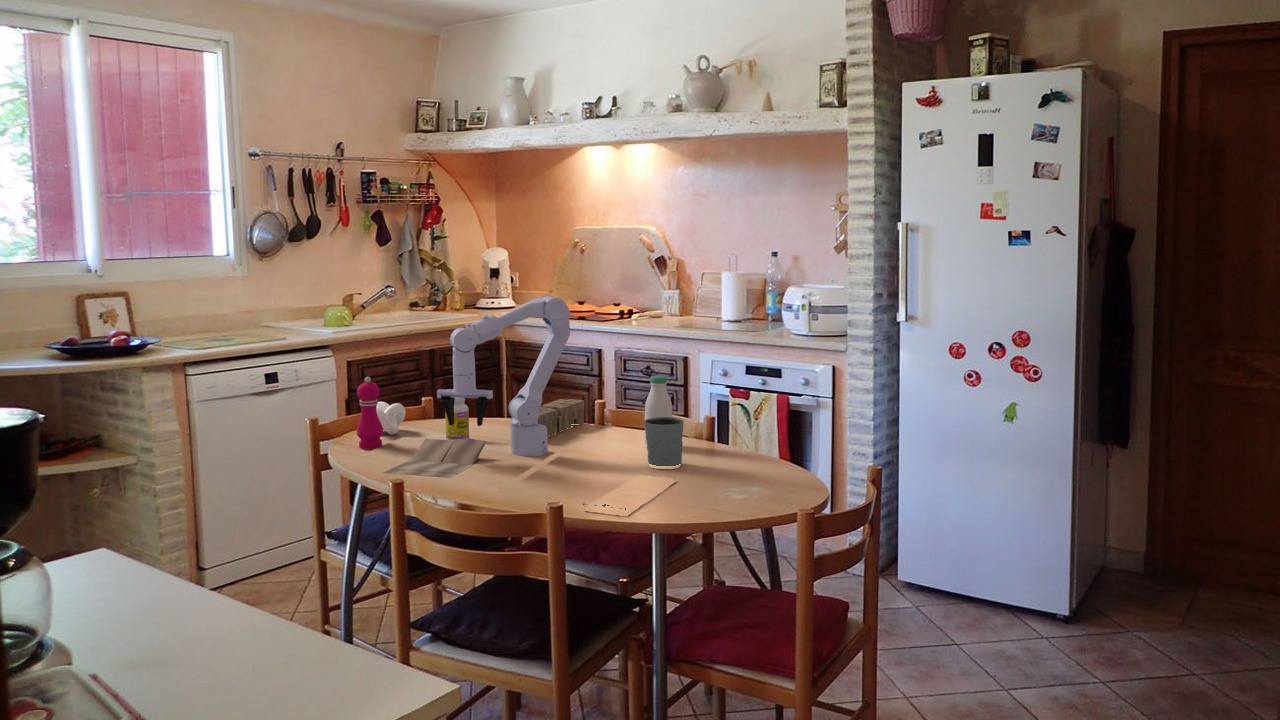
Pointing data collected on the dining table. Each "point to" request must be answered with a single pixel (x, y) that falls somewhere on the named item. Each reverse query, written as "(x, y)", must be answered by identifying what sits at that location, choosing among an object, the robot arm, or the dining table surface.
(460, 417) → the supplement bottle
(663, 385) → the milk bottle
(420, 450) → the plank
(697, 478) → the dining table surface
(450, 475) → the grey slab
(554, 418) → the block tower
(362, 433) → the pepper mill
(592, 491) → the dining table surface
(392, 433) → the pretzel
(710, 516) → the dining table surface
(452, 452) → the plank
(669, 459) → the grey-green tapered open cylinder
